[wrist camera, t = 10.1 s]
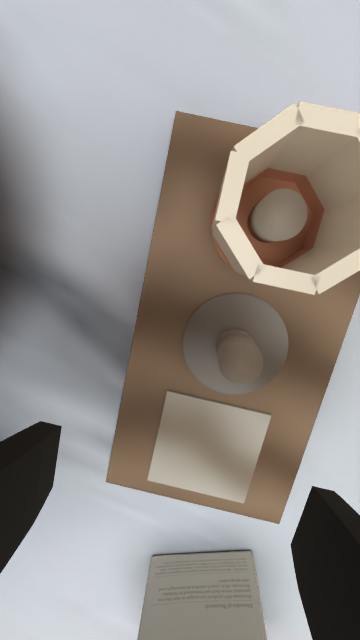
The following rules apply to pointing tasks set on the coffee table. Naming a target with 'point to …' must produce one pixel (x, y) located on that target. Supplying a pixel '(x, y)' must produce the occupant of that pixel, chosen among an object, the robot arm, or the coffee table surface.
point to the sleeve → (315, 186)
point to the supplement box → (202, 598)
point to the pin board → (182, 293)
